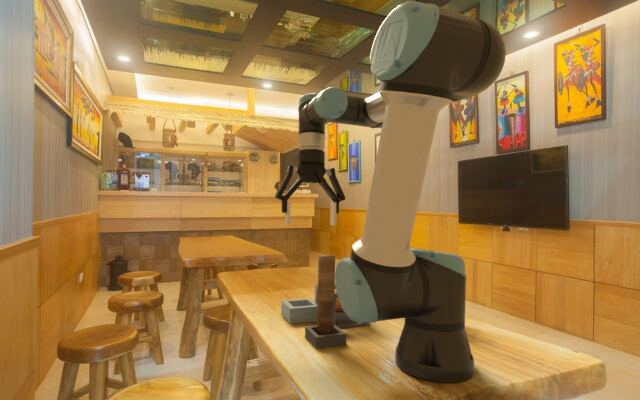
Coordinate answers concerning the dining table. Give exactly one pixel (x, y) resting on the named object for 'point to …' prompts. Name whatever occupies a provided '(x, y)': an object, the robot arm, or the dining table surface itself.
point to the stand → (325, 337)
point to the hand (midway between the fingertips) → (310, 225)
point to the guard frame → (341, 315)
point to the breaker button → (338, 306)
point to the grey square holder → (299, 310)
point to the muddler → (326, 294)
